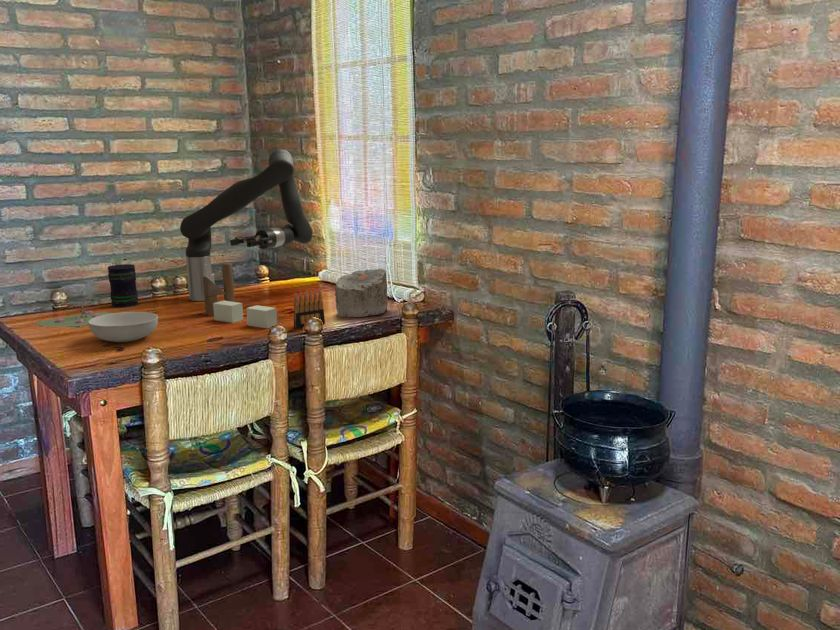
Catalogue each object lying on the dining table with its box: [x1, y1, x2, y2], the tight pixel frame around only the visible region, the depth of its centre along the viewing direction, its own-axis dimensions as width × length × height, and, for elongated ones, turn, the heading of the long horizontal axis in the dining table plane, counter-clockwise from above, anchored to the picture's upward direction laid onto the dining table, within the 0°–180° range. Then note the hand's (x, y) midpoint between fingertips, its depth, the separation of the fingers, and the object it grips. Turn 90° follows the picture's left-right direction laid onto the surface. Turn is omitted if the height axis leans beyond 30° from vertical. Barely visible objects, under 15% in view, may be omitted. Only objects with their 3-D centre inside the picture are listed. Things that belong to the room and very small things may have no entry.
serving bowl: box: [88, 311, 159, 343], centre depth 254 cm, size 21×21×7 cm
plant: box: [33, 295, 112, 328], centre depth 280 cm, size 25×21×9 cm
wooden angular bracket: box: [203, 262, 236, 317], centre depth 286 cm, size 4×11×18 cm, turn 129°
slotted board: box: [213, 300, 278, 329], centre depth 273 cm, size 5×25×6 cm, turn 57°
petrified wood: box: [334, 268, 389, 318], centre depth 284 cm, size 19×17×15 cm
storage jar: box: [107, 258, 139, 309], centre depth 303 cm, size 10×10×18 cm
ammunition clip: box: [293, 288, 326, 329], centre depth 267 cm, size 11×2×12 cm, turn 123°
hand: (239, 243), depth 291 cm, fingers open, 8 cm apart
